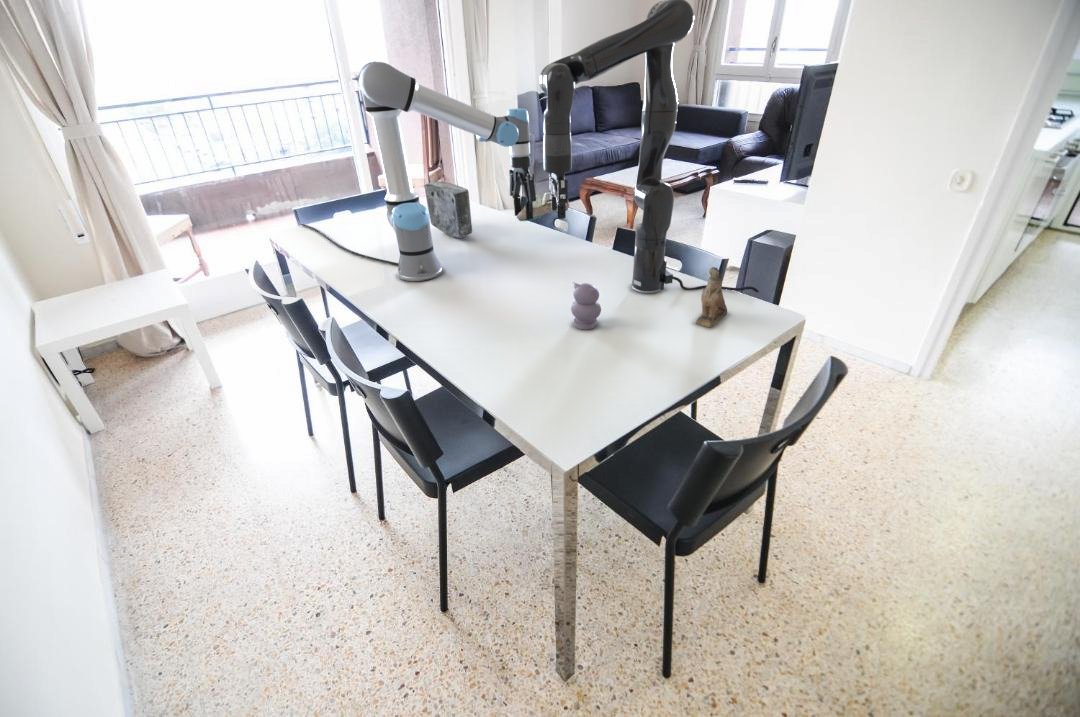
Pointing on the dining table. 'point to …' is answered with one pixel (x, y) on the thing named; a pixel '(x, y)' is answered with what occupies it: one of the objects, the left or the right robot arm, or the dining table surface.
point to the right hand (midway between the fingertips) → (558, 214)
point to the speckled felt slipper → (539, 208)
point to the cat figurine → (585, 306)
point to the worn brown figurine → (712, 301)
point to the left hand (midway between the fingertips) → (523, 217)
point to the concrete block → (449, 208)
